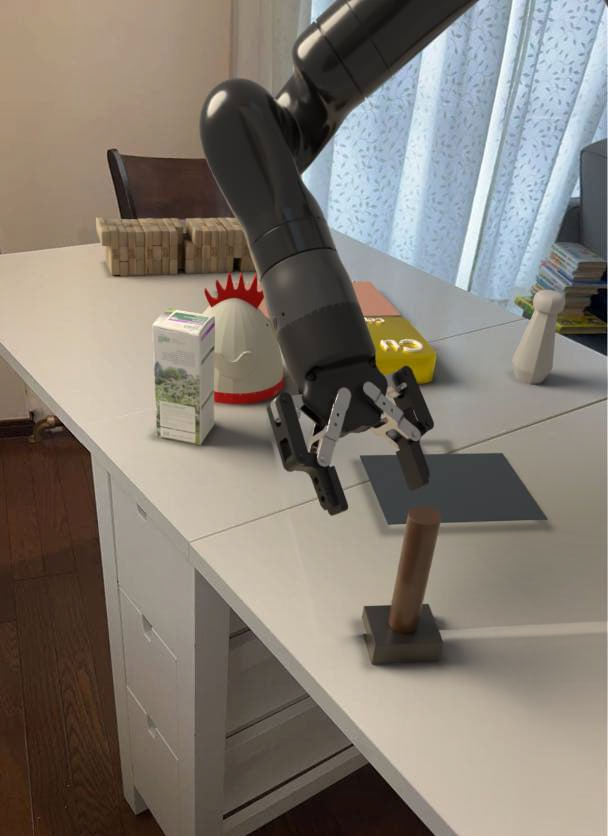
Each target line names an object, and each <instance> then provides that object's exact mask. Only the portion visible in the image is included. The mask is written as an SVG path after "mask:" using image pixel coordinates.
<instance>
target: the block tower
mask: <svg viewBox="0 0 608 836" xmlns="http://www.w3.org/2000/svg"><path fill="white" fill-rule="evenodd" d="M95 225H96V234H97V236H98V238H99V242H100V244H101V246H102V247H105V263H106V265H107V267H108V270H109V272H110V275H111V276H120V277H128V276H144V275H146V276H152V275H154V276H157V275H169V274H170V275H177V274H178V270H182V269H183V271H184V272H185V274H200V273H202V274H209V273H226V272H227V273H229V272H230V273H231V272H232V273H233V271H234V265H235V267H237V269H238V271H239V272H256V269H255V266H254V263H253V260H252V258H251V255H250V252H249V249H248V246H247V242H246V238H245V235H244V233H243V231H242V229H241V227H240V225H239V223H238V221H237V219H236V218H235V217H210V218H209V217H207V218H205V217H203V218H201V217H194V218H190V217H189V218H188V217H187V218H186V219H185V232H184V226H183V223H181V221H180V219H179V218H177V217H171V218H168V217H167V218H165V217H164V218H153V217H146V218H137V219H135V218H133V219H132V218H131V219H129V218H127V219H126V218H121V219H105V218H104V217H96V218H95Z"/></svg>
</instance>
